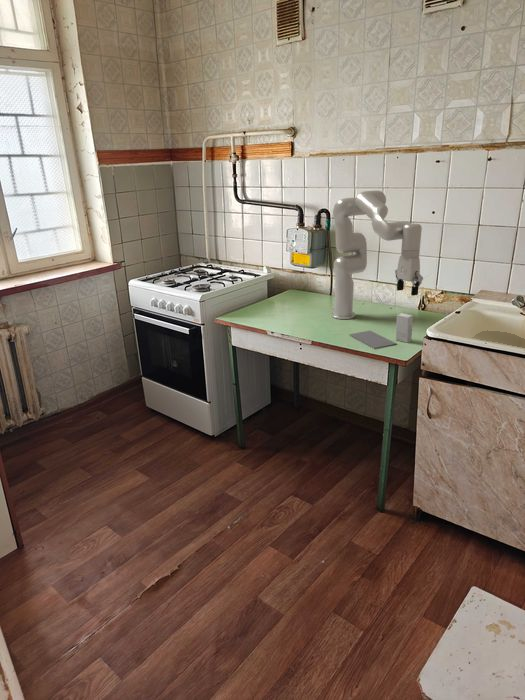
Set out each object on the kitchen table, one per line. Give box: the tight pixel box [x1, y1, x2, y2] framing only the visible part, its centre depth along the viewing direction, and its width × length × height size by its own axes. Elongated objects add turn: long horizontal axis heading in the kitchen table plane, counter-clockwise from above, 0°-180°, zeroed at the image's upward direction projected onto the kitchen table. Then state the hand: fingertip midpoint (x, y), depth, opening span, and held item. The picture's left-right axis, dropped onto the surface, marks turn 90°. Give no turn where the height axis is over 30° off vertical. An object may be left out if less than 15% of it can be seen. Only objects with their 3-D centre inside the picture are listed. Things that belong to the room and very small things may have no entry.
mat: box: [348, 330, 398, 350], centre depth 228 cm, size 20×12×1 cm, turn 24°
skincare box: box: [395, 312, 414, 343], centre depth 225 cm, size 6×4×12 cm
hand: (407, 292), depth 219 cm, fingers open, 9 cm apart
